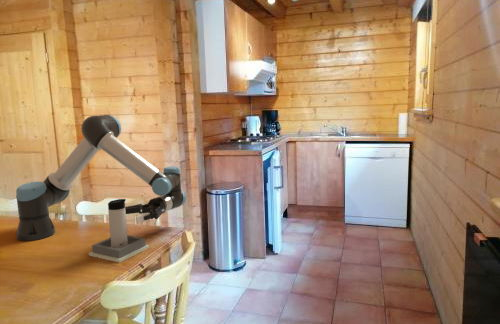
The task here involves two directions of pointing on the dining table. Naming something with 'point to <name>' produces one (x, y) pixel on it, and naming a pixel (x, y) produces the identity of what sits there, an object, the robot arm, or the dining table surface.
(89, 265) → the dining table surface
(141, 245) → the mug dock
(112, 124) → the robot arm
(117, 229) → the travel mug
